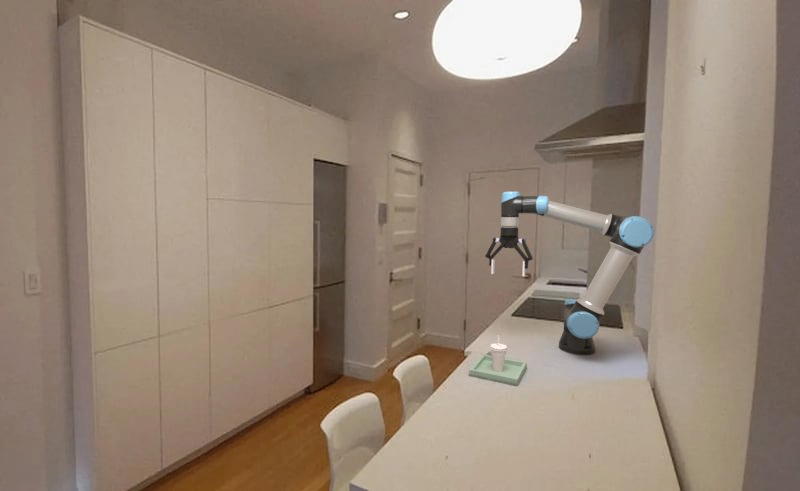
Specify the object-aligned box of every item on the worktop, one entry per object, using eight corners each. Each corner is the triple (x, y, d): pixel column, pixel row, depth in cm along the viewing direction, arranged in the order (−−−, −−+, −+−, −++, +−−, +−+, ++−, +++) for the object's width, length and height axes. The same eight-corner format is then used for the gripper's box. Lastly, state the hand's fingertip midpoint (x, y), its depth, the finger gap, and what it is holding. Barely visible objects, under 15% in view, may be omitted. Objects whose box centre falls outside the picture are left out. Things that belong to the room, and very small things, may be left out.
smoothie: (487, 371, 150) (488, 336, 148) (491, 365, 155) (492, 331, 154) (504, 374, 147) (505, 338, 145) (508, 368, 152) (509, 334, 151)
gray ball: (496, 359, 164) (496, 351, 164) (493, 362, 161) (494, 353, 161) (487, 357, 166) (488, 349, 166) (485, 360, 163) (485, 352, 162)
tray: (526, 368, 155) (526, 362, 154) (517, 386, 139) (517, 379, 139) (482, 360, 163) (482, 354, 163) (469, 375, 147) (469, 369, 147)
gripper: (540, 227, 167) (538, 275, 169) (484, 226, 178) (482, 271, 180) (537, 228, 160) (536, 278, 162) (479, 226, 172) (478, 273, 174)
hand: (508, 274), depth 171 cm, fingers open, 13 cm apart
